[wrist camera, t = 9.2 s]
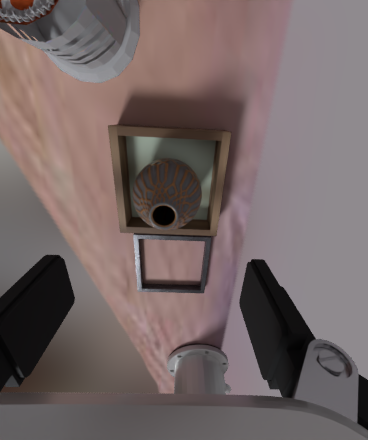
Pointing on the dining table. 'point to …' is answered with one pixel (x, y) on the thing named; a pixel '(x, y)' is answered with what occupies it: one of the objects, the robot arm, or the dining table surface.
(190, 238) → the trivet frame
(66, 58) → the french press
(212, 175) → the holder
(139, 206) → the vase
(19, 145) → the dining table surface
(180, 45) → the dining table surface
